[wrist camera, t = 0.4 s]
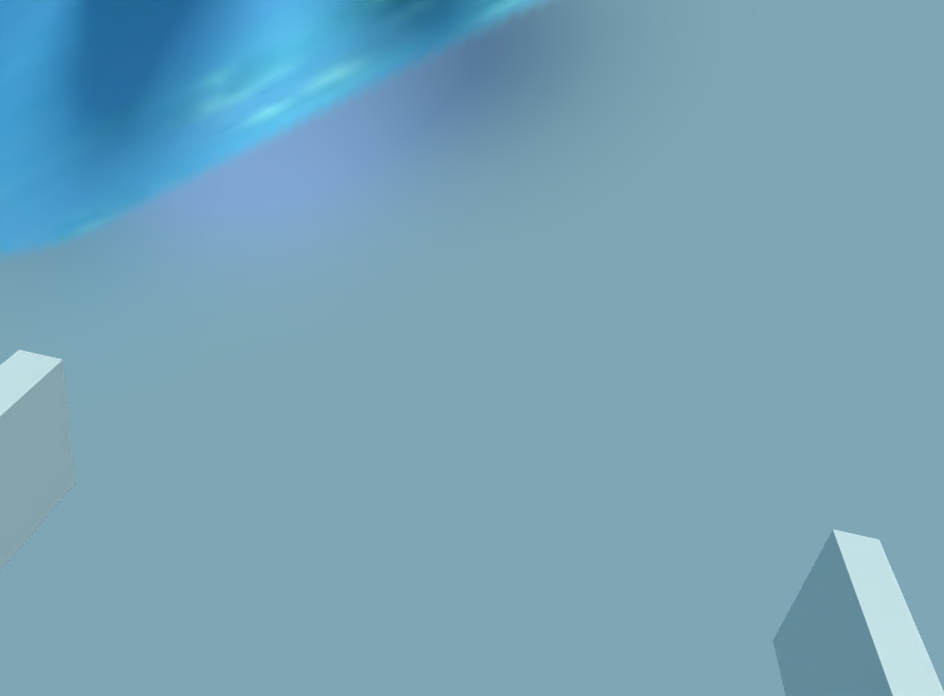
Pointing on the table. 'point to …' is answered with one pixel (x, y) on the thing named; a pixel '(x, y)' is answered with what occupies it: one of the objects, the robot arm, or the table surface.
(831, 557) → the robot arm
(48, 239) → the table surface
